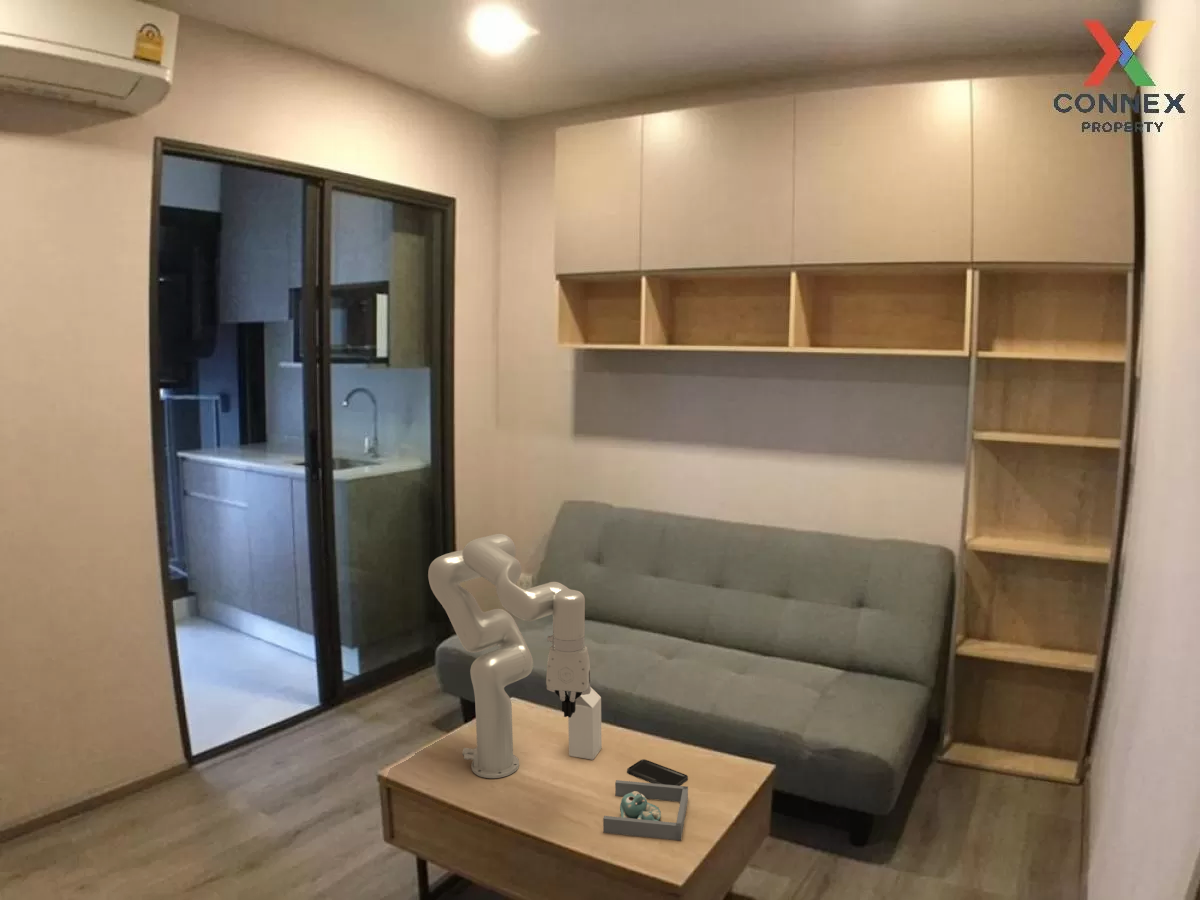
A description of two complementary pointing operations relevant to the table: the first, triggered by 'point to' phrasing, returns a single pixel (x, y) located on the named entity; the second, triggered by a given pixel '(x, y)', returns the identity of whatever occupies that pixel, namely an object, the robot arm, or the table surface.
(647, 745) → the table surface
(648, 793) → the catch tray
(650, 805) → the stuffed animal
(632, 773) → the phone
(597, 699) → the milk carton
